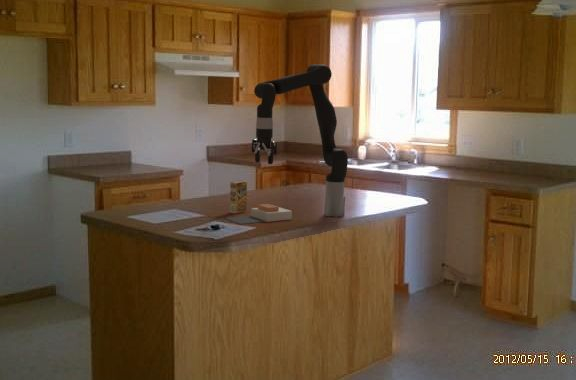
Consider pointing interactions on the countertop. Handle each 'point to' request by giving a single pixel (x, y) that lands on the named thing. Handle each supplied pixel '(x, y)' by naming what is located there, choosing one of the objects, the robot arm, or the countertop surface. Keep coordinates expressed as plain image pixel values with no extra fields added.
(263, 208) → the block
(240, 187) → the candy box
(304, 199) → the countertop surface
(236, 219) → the mat
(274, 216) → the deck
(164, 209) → the countertop surface
